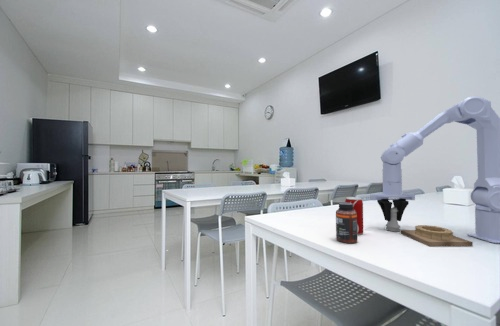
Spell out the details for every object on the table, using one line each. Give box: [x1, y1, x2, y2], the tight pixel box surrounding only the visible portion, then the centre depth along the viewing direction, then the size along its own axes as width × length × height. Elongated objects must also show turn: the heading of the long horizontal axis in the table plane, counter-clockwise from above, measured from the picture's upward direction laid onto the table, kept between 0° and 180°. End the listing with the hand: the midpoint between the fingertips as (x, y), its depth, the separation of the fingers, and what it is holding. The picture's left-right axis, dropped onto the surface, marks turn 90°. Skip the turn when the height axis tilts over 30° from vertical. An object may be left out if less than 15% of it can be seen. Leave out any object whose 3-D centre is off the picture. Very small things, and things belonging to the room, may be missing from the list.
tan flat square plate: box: [400, 224, 473, 247], centre depth 68 cm, size 12×12×3 cm
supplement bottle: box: [335, 201, 358, 244], centre depth 67 cm, size 6×6×11 cm
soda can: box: [344, 196, 364, 236], centre depth 75 cm, size 6×6×12 cm
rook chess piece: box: [385, 206, 401, 233], centre depth 78 cm, size 4×4×8 cm
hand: (392, 220), depth 78 cm, fingers closed on rook chess piece, 3 cm apart
